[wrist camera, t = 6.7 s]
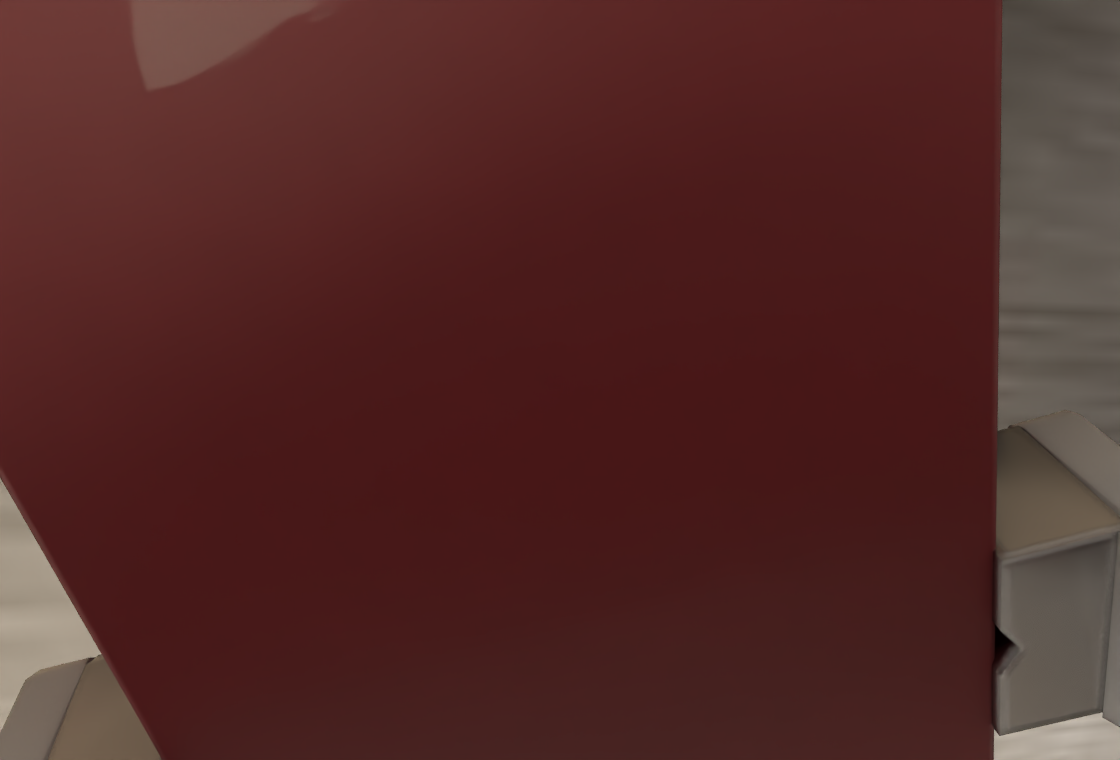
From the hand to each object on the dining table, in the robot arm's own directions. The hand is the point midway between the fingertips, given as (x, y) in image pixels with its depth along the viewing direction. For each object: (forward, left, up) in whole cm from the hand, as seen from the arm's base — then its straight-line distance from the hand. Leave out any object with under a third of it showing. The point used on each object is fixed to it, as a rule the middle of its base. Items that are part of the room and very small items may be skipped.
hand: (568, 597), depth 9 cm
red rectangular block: (0, 0, -1) cm, 1 cm away
